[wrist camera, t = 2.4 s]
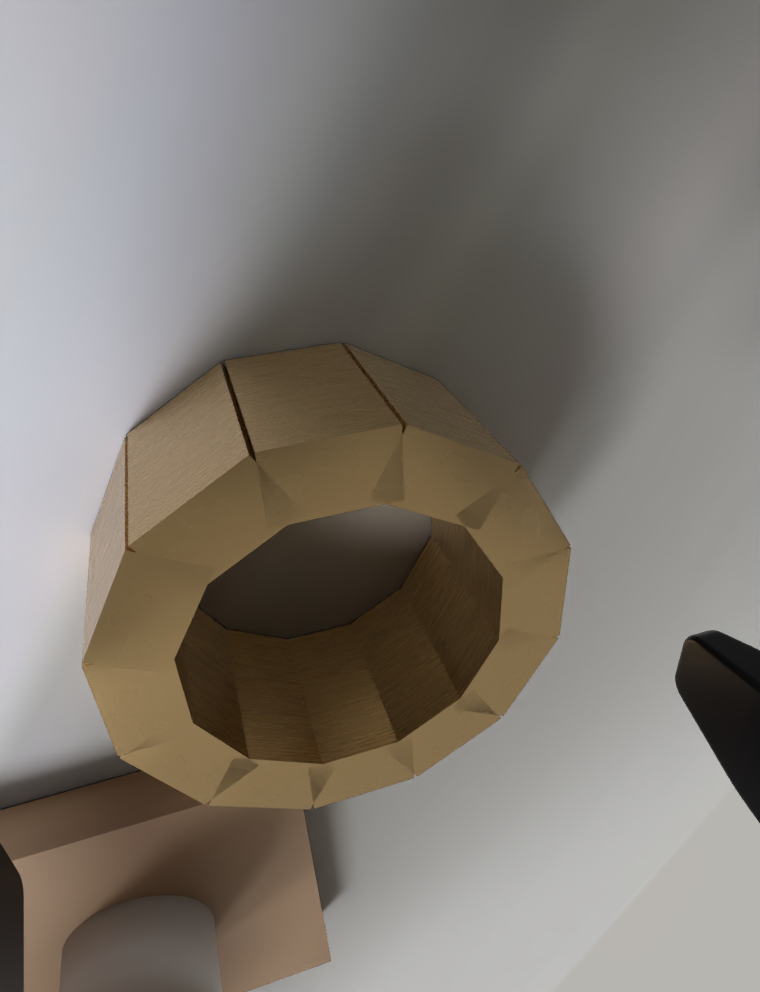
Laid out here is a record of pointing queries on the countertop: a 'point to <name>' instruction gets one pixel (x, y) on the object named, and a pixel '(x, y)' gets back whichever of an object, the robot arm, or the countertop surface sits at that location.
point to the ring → (330, 653)
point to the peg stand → (162, 891)
